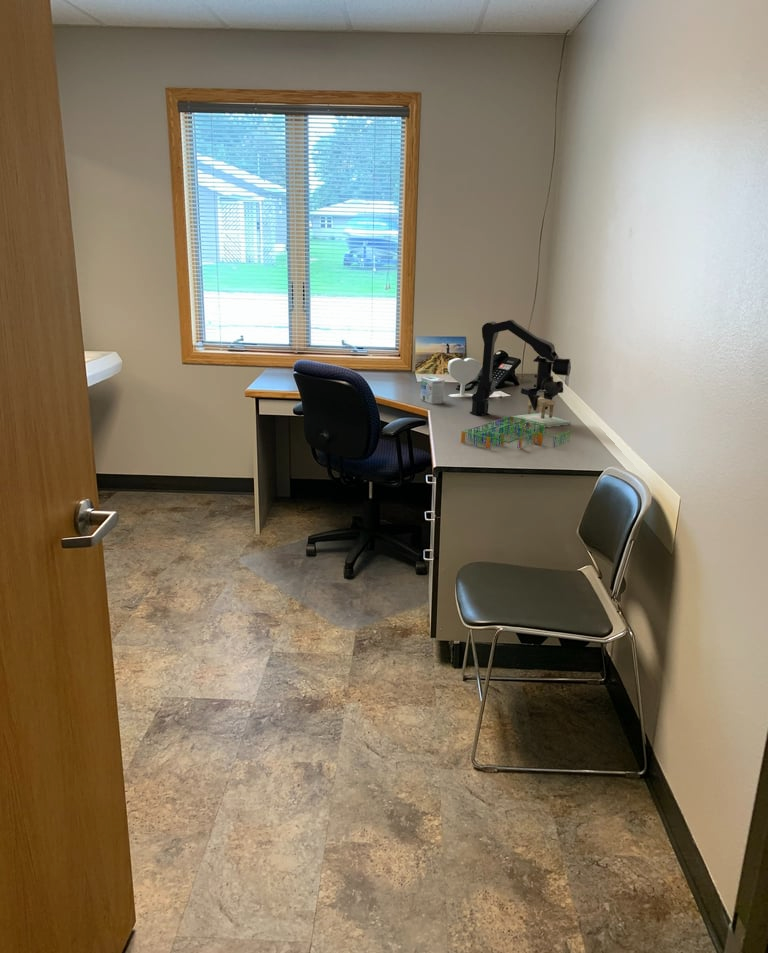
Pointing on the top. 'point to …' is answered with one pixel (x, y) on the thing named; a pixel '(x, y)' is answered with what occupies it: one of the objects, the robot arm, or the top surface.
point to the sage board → (541, 420)
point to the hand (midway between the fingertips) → (540, 409)
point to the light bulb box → (432, 390)
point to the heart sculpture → (463, 373)
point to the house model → (502, 428)
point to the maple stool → (542, 406)
